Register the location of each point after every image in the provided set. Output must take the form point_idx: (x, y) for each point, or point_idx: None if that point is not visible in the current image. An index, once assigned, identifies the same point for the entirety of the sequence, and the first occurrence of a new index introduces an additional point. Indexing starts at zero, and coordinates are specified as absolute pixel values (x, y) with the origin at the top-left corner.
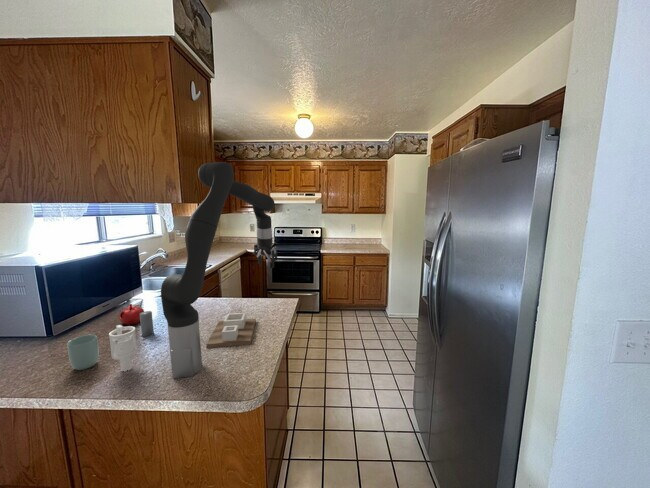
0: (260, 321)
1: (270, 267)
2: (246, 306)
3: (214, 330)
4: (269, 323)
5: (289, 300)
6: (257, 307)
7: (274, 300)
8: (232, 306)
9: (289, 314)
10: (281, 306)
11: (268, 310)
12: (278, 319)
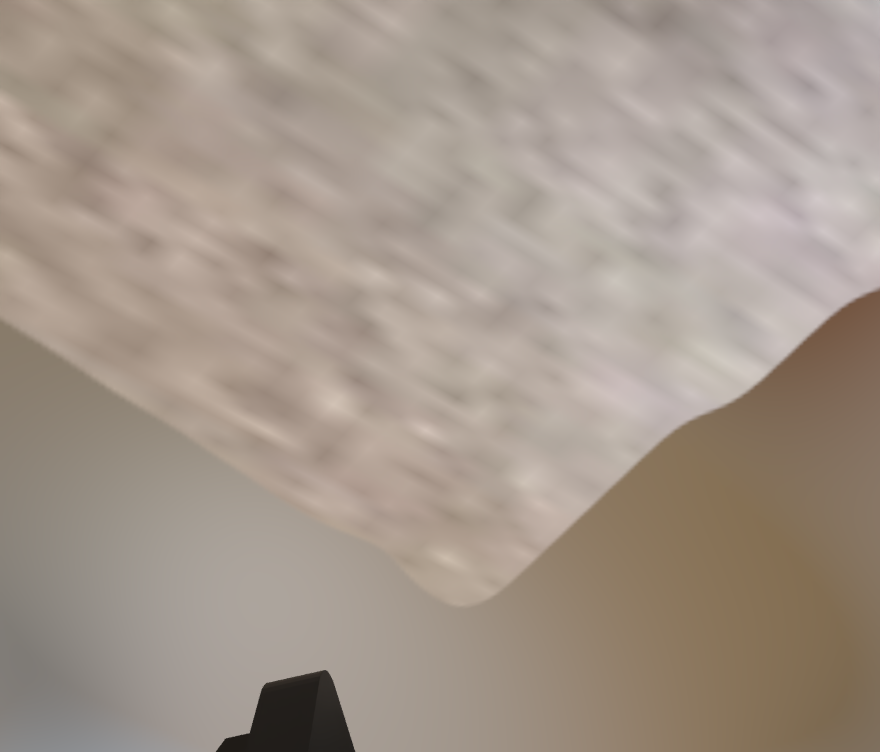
0: (159, 14)
1: (273, 703)
2: (701, 148)
3: None
4: (20, 67)
5: (490, 580)
6: (579, 229)
7: (607, 469)
8: (830, 18)
9: (132, 396)
10: (407, 443)
11: (408, 278)
12: (72, 223)
